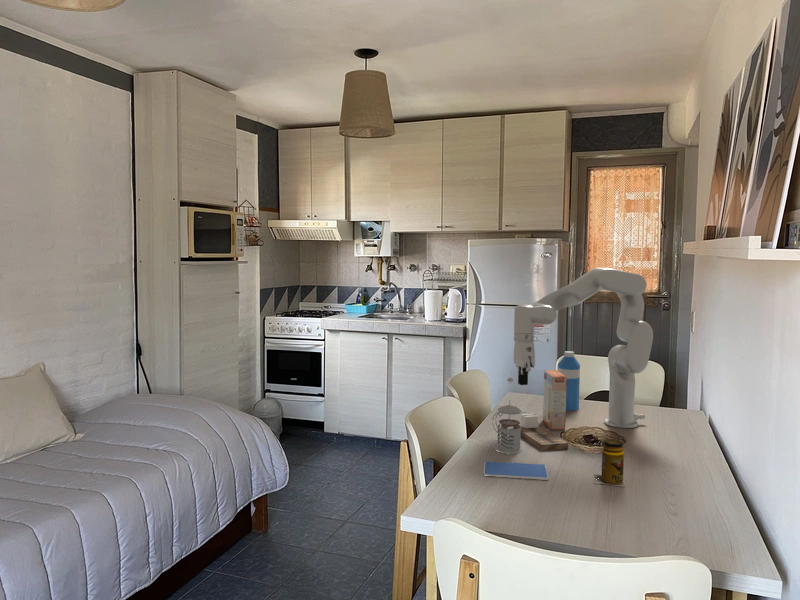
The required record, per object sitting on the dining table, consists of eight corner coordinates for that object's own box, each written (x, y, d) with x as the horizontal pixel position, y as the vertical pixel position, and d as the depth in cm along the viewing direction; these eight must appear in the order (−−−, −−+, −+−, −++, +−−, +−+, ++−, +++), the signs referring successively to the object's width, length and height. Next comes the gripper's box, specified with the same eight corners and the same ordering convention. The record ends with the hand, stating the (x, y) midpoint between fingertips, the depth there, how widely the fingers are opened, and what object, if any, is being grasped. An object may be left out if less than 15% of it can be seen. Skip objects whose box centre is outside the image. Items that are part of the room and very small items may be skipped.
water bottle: (557, 410, 258) (559, 353, 257) (556, 405, 268) (557, 349, 266) (580, 411, 257) (581, 353, 255) (577, 406, 266) (578, 350, 264)
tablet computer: (483, 478, 179) (483, 473, 179) (484, 464, 191) (484, 460, 191) (549, 482, 175) (549, 478, 175) (545, 468, 188) (545, 463, 188)
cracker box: (566, 430, 228) (567, 376, 226) (550, 430, 228) (551, 376, 226) (557, 420, 242) (558, 369, 240) (542, 420, 242) (543, 369, 240)
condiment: (624, 487, 171) (626, 446, 170) (594, 483, 174) (595, 443, 173) (623, 478, 178) (624, 439, 177) (593, 475, 180) (594, 436, 180)
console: (537, 429, 229) (537, 423, 229) (568, 448, 206) (568, 442, 205) (513, 430, 227) (513, 425, 227) (541, 450, 203) (541, 444, 203)
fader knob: (533, 424, 227) (533, 413, 226) (537, 427, 223) (538, 415, 223) (520, 425, 226) (521, 413, 225) (525, 428, 222) (525, 416, 222)
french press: (511, 456, 197) (512, 381, 196) (484, 447, 206) (485, 376, 204) (529, 450, 204) (530, 378, 202) (502, 442, 212) (503, 373, 211)
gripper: (541, 339, 222) (540, 388, 223) (524, 334, 237) (523, 380, 238) (523, 340, 220) (522, 389, 221) (507, 335, 235) (506, 380, 236)
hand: (522, 384), depth 230 cm, fingers closed
